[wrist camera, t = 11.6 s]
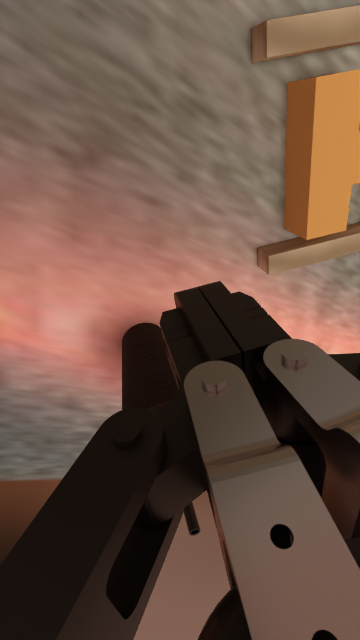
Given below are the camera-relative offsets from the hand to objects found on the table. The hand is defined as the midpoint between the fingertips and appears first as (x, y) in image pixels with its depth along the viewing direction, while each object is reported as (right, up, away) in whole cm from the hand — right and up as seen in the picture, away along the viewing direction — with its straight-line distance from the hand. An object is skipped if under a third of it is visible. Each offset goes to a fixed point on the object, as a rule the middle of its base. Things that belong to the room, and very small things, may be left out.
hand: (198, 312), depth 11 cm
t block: (+15, +15, +20) cm, 29 cm away
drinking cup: (-5, -3, +25) cm, 26 cm away
